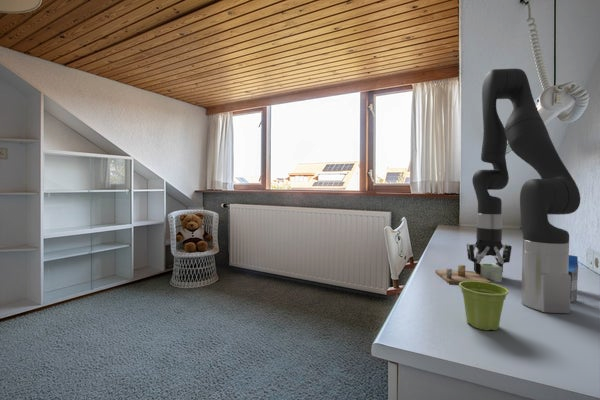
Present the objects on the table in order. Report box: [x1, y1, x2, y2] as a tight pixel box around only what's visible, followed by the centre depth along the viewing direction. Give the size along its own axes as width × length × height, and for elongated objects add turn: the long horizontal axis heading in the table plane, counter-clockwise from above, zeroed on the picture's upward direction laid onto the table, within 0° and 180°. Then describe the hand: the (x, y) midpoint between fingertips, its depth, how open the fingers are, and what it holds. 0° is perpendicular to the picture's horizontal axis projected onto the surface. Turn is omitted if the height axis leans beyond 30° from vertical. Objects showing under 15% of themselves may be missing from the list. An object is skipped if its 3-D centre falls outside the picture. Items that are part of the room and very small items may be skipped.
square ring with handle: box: [474, 262, 503, 283], centre depth 102 cm, size 10×6×4 cm, turn 173°
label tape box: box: [568, 254, 579, 303], centre depth 83 cm, size 9×4×12 cm, turn 27°
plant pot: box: [458, 281, 510, 331], centre depth 66 cm, size 9×9×9 cm
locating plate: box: [435, 264, 493, 285], centre depth 101 cm, size 13×13×4 cm
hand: (488, 273), depth 103 cm, fingers open, 6 cm apart
